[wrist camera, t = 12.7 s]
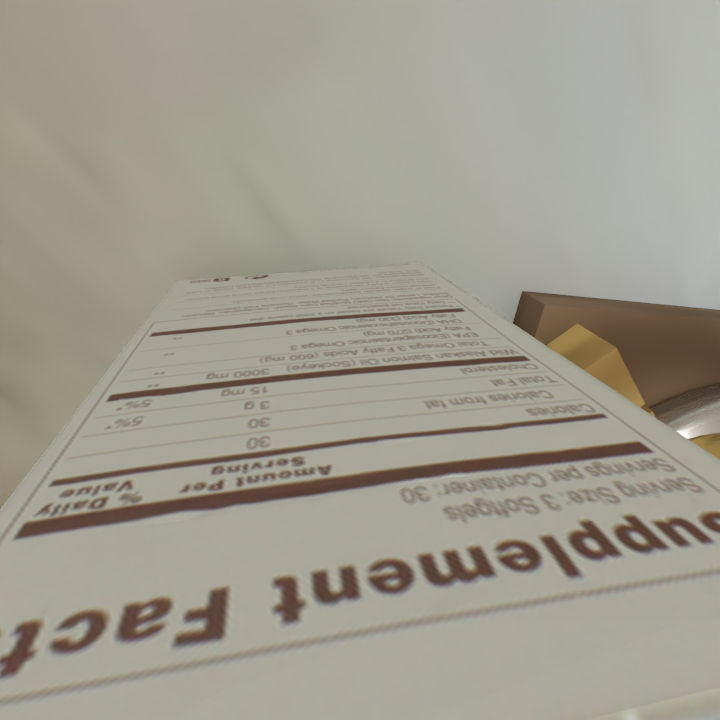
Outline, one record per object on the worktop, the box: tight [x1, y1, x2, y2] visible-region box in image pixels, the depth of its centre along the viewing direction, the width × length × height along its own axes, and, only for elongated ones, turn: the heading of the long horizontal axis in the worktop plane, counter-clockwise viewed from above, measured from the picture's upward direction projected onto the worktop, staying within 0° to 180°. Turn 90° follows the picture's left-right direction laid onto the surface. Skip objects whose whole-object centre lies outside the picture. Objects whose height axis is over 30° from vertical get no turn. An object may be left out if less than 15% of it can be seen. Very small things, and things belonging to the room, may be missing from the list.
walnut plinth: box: [513, 291, 720, 409], centre depth 21 cm, size 20×20×4 cm
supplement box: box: [0, 262, 720, 720], centre depth 9 cm, size 7×7×13 cm
